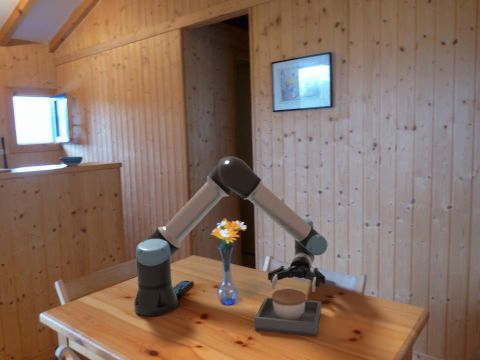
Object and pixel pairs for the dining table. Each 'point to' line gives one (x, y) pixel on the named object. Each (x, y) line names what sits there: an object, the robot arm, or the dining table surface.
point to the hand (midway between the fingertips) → (292, 286)
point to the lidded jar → (289, 303)
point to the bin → (303, 326)
